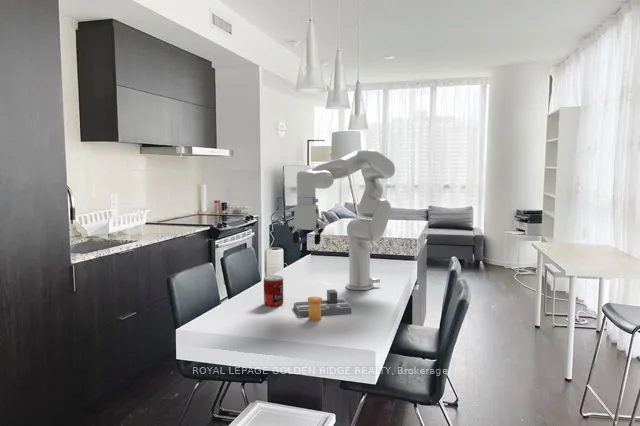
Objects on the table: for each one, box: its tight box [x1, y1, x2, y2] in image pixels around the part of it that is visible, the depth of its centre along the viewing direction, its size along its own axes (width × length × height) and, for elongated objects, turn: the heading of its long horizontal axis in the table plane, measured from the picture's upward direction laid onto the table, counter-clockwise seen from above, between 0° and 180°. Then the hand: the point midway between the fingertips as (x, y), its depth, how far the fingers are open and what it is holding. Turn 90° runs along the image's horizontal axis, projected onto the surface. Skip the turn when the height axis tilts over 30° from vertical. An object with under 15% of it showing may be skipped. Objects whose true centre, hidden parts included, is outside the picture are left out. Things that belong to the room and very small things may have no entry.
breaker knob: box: [326, 289, 338, 304], centre depth 179 cm, size 3×4×5 cm
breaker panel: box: [293, 298, 353, 318], centre depth 178 cm, size 20×12×3 cm, turn 103°
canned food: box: [263, 274, 284, 308], centre depth 187 cm, size 8×8×11 cm
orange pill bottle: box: [307, 296, 323, 322], centre depth 167 cm, size 5×5×8 cm
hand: (306, 243), depth 190 cm, fingers open, 9 cm apart
